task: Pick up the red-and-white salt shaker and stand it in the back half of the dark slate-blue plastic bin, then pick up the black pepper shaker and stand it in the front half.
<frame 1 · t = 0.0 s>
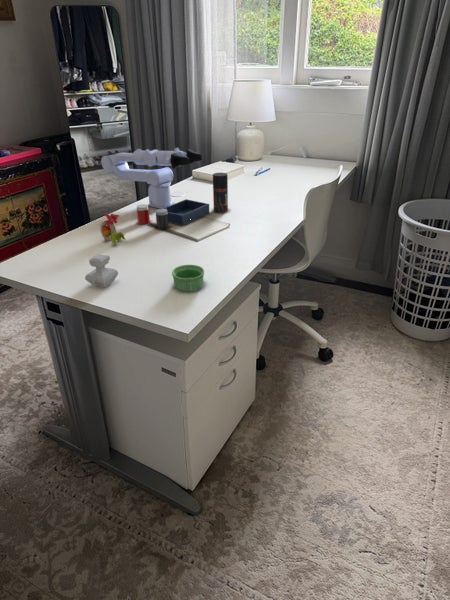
hand: (195, 159, 163), 22 cm above the table, tool horizontal, fingers open, 7 cm apart
bin: (184, 216, 171), on the table
bird rattle: (112, 242, 148), on the table
pepper shaker: (163, 227, 160), on the table
ramekin: (188, 285, 120), on the table
salt shaker: (144, 222, 165), on the table
stamp: (103, 284, 121), on the table
deodorant: (220, 211, 177), on the table
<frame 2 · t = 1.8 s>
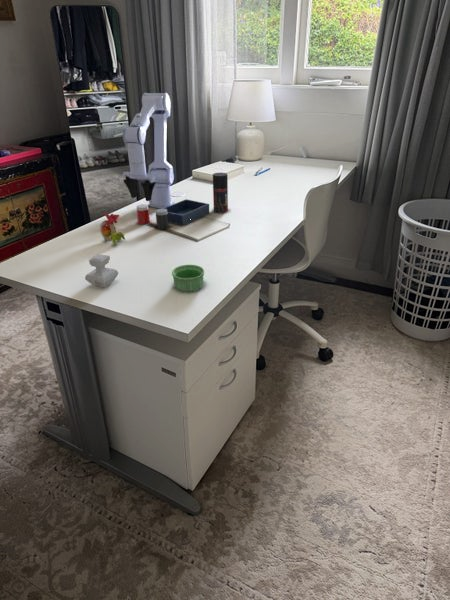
hand: (141, 198, 161), 9 cm above the table, tool pointing down, fingers open, 7 cm apart
nothing on the table moved.
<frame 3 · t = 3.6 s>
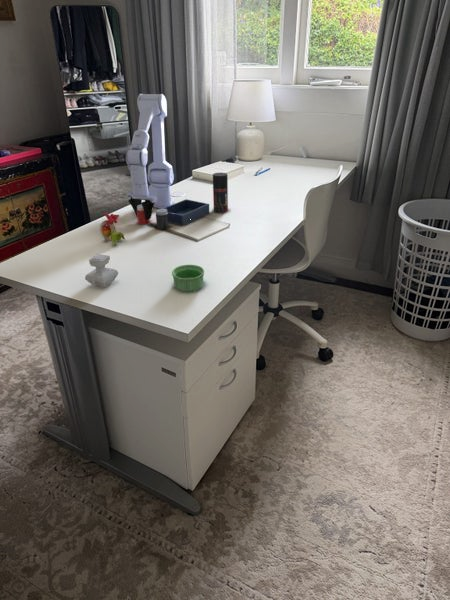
hand: (143, 217, 164), 2 cm above the table, tool pointing down, fingers closed on salt shaker, 4 cm apart
salt shaker: (144, 222, 165), on the table, touching gripper
everything else where it was.
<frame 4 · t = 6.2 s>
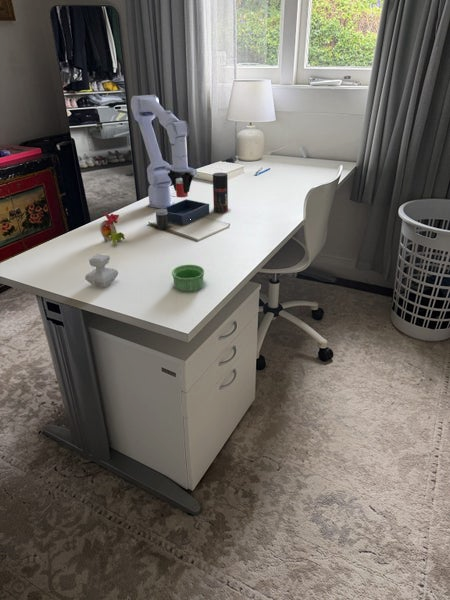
hand: (181, 191, 167), 10 cm above the table, tool pointing down, fingers closed on salt shaker, 4 cm apart
salt shaker: (182, 195, 168), point 8 cm above the table, touching gripper
everything else where it was.
when the fingers open (2 cm above the table, at t = 8.9 s): salt shaker stays where it is, resting on bin.
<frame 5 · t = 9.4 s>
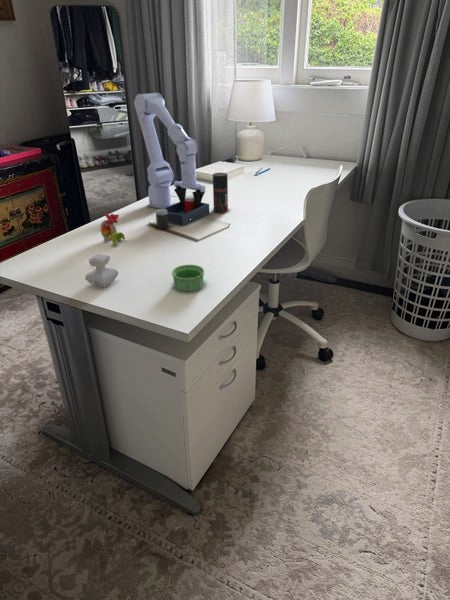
hand: (190, 206, 172), 3 cm above the table, tool pointing down, fingers open, 7 cm apart
salt shaker: (190, 212, 173), resting on bin
everything else where it was.
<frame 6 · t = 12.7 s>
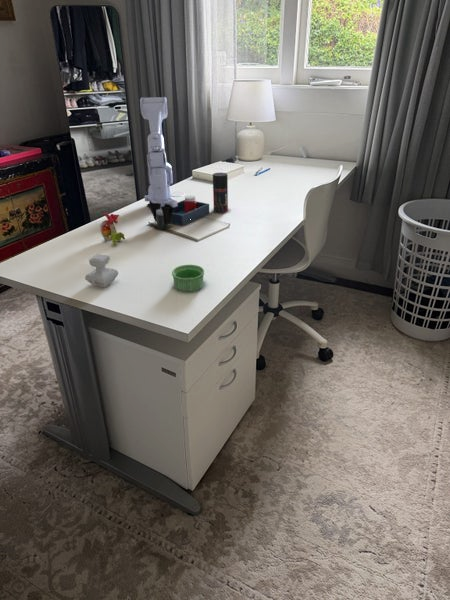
hand: (162, 222, 159), 2 cm above the table, tool pointing down, fingers closed on pepper shaker, 4 cm apart
pepper shaker: (163, 227, 160), on the table, touching gripper
everything else where it was.
when the fingers open (2 cm above the table, at t = 17.4 s): pepper shaker stays where it is, resting on bin.
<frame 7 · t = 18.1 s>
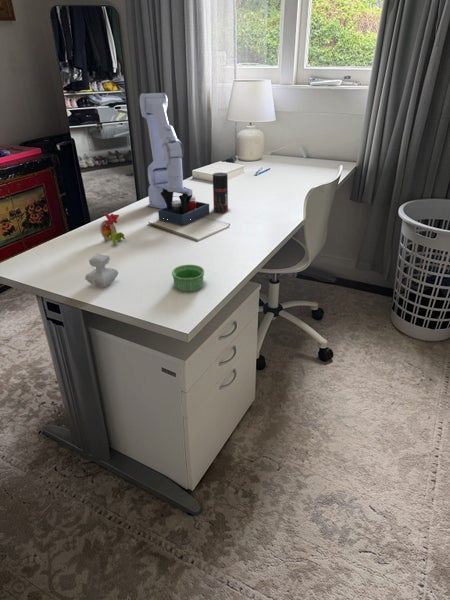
hand: (177, 210, 166), 4 cm above the table, tool pointing down, fingers open, 7 cm apart
pepper shaker: (178, 218, 168), resting on bin
everything else where it was.
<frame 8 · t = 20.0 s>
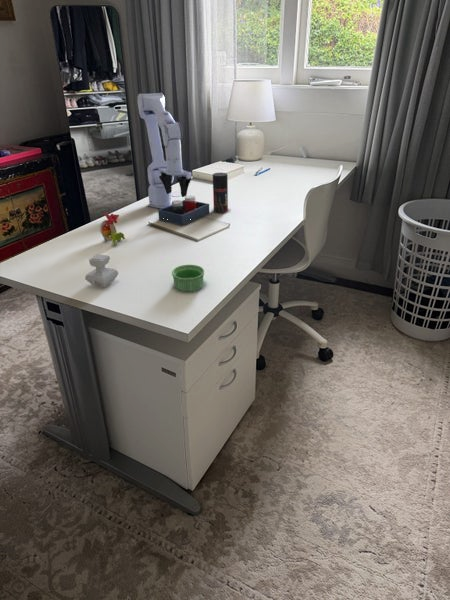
hand: (176, 194, 163), 10 cm above the table, tool pointing down, fingers open, 7 cm apart
nothing on the table moved.
at the end: salt shaker inside the target area in the bin (4.0 cm from its centre), point 0.5 cm above the bin's base; pepper shaker inside the target area in the bin (4.0 cm from its centre), point 0.5 cm above the bin's base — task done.
